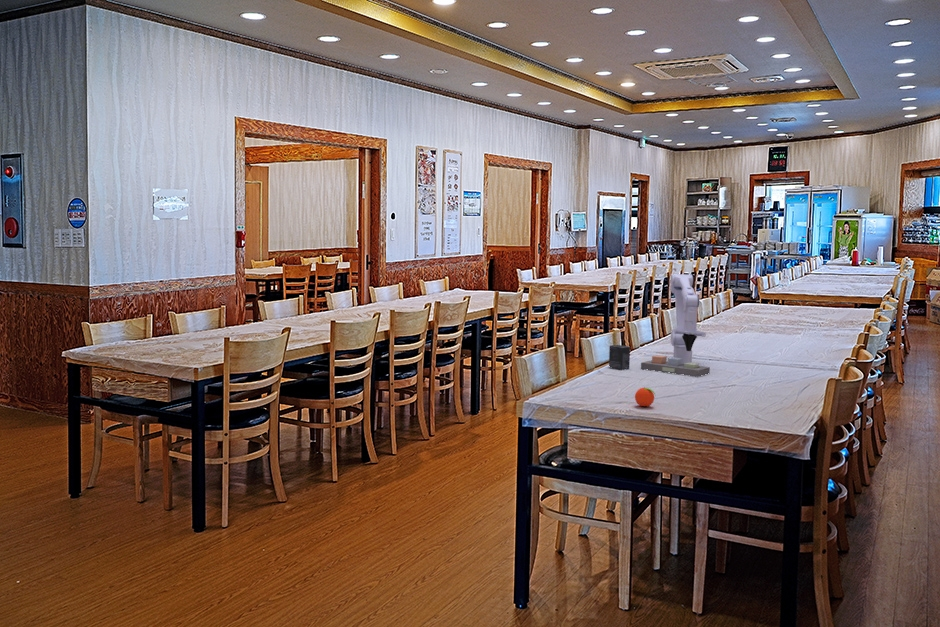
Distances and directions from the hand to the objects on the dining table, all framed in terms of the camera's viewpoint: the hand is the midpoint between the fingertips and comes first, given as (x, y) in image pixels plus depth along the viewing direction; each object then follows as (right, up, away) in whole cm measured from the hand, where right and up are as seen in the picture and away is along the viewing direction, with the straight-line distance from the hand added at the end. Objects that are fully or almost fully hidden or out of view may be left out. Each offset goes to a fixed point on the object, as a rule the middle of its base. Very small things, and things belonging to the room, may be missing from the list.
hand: (688, 350), depth 378 cm
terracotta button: (-13, -7, +5) cm, 15 cm away
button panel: (-6, -9, 0) cm, 11 cm away
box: (-31, -9, +5) cm, 33 cm away
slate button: (-6, -8, 0) cm, 10 cm away
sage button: (0, -10, -5) cm, 11 cm away
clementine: (-36, -17, -77) cm, 87 cm away
